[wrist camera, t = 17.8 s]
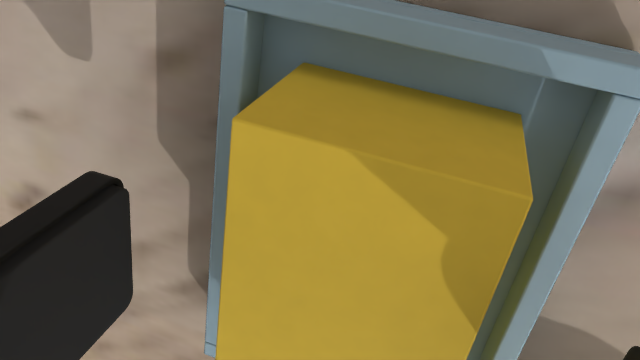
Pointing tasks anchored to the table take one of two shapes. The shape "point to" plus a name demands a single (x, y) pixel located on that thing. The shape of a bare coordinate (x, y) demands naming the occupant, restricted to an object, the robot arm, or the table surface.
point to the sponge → (366, 220)
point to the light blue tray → (460, 83)
